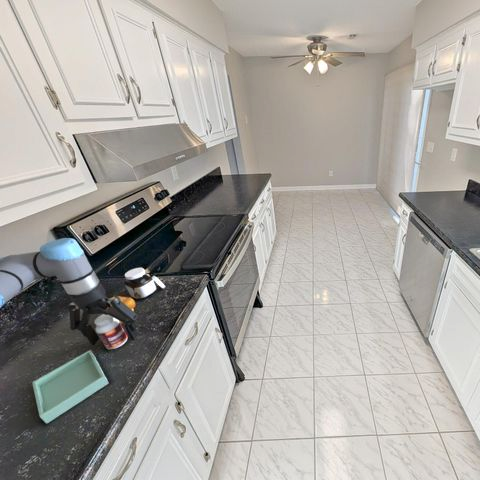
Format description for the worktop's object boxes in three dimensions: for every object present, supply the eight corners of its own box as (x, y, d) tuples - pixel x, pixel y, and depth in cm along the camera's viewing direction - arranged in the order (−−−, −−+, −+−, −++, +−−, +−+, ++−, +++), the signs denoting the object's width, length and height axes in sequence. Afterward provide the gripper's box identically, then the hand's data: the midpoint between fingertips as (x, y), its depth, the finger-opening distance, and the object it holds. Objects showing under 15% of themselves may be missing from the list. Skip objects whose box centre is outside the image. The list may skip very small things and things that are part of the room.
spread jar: (128, 298, 107) (116, 276, 102) (151, 282, 117) (141, 261, 111) (149, 302, 104) (138, 279, 98) (171, 286, 113) (162, 264, 108)
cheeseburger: (105, 315, 98) (101, 293, 95) (138, 310, 103) (136, 289, 100) (98, 332, 90) (94, 309, 87) (135, 326, 95) (132, 304, 92)
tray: (38, 388, 72) (32, 381, 71) (94, 356, 81) (90, 349, 80) (46, 423, 63) (39, 416, 62) (108, 383, 72) (104, 376, 71)
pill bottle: (115, 352, 82) (99, 327, 77) (101, 348, 84) (86, 323, 79) (132, 337, 87) (119, 313, 82) (120, 333, 89) (106, 310, 84)
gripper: (133, 276, 80) (158, 326, 89) (51, 285, 78) (85, 335, 88) (119, 290, 73) (147, 343, 83) (29, 301, 71) (69, 353, 81)
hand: (115, 339), depth 85 cm, fingers open, 12 cm apart
